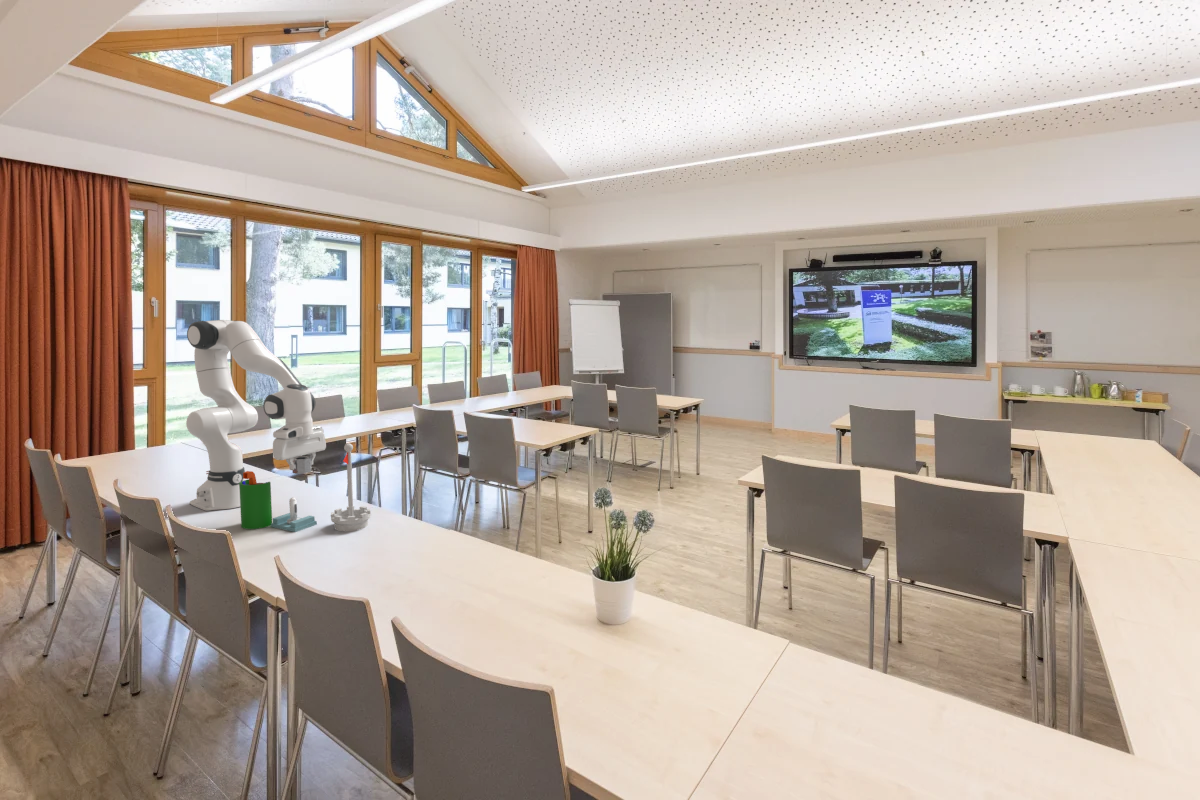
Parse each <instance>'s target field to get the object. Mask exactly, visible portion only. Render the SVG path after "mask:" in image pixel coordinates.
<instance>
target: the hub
mask: <svg viewBox="0 0 1200 800" xmlns="http://www.w3.org/2000/svg"><path fill="white" fill-rule="evenodd" d="M293 459H294V460H293V463H294V464H296V469H294V470H291V471H292V474H294V475H301V474H302V475H303V474H308V473H311V472H312V465H311V457H309V455H307V456H305V455H302V456H298V457H293Z"/></svg>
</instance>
